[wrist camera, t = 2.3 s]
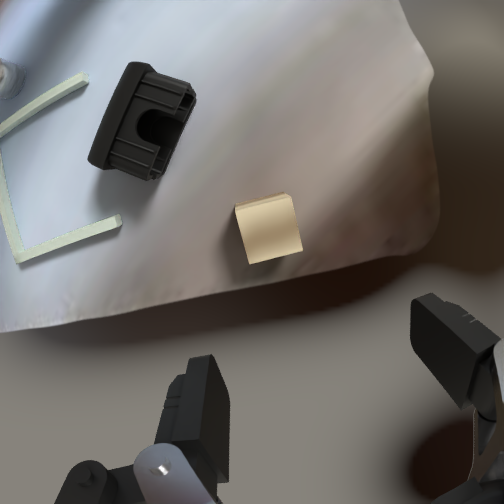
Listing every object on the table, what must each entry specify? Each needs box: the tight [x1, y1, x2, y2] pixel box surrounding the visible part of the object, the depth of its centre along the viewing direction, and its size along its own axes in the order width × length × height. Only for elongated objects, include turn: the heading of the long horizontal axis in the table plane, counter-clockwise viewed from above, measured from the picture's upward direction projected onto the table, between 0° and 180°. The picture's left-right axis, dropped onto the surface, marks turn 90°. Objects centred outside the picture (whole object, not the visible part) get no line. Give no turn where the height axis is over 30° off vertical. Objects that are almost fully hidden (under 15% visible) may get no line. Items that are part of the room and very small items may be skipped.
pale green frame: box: [0, 72, 123, 264], centre depth 27 cm, size 18×17×2 cm
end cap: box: [88, 62, 196, 181], centre depth 24 cm, size 10×7×7 cm
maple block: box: [235, 192, 303, 264], centre depth 29 cm, size 5×5×5 cm
